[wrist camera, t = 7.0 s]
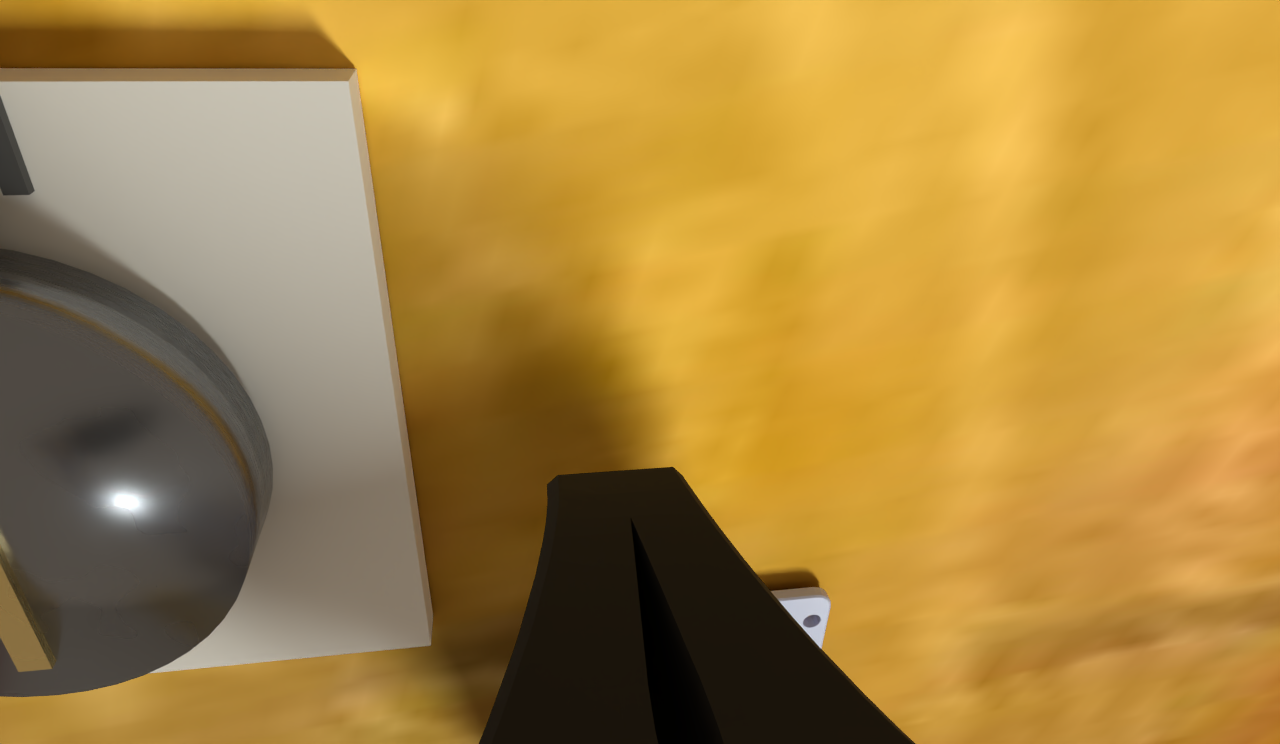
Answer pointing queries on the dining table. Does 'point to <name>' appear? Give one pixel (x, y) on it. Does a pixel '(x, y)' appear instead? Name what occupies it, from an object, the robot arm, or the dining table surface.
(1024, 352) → the dining table surface
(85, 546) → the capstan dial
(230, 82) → the white square board
